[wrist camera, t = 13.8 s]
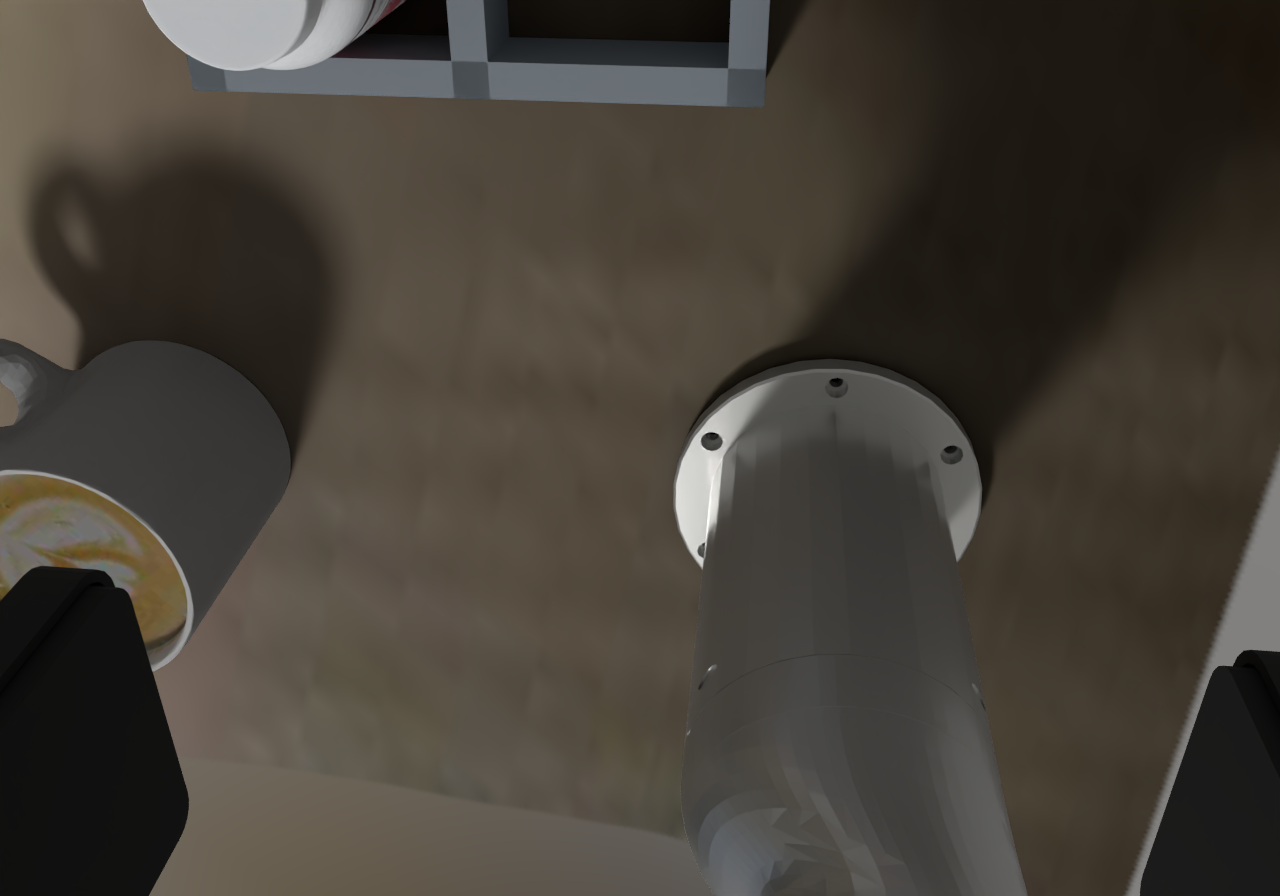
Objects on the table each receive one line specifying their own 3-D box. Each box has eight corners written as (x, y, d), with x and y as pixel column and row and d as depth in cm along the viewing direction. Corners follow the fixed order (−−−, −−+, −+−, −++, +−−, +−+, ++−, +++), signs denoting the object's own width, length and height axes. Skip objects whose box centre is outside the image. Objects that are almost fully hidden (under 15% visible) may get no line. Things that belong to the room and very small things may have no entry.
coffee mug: (334, 488, 52) (247, 637, 44) (168, 559, 56) (57, 710, 47) (140, 231, 47) (-4, 345, 38) (-33, 327, 50) (-200, 452, 42)
